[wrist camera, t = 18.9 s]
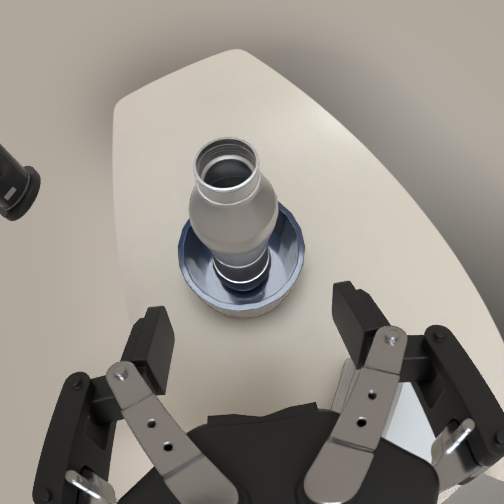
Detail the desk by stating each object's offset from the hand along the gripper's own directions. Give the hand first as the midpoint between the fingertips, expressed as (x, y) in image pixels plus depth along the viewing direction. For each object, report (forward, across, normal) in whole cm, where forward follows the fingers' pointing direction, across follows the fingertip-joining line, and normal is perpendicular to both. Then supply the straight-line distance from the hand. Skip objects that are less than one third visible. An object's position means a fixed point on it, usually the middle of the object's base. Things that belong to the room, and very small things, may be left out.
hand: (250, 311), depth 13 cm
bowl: (+20, 0, +8) cm, 21 cm away
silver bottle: (+19, 0, +8) cm, 21 cm away
